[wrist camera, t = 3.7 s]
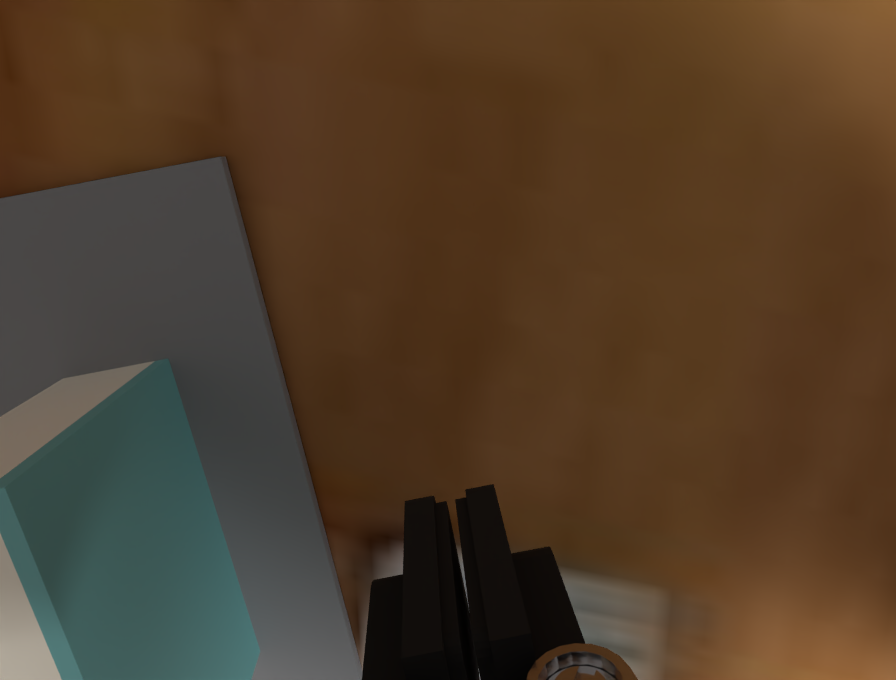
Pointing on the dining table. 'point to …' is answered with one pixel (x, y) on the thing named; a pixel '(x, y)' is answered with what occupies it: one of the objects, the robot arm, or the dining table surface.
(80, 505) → the tile
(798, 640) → the dining table surface
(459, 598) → the robot arm
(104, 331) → the mat
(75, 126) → the dining table surface
